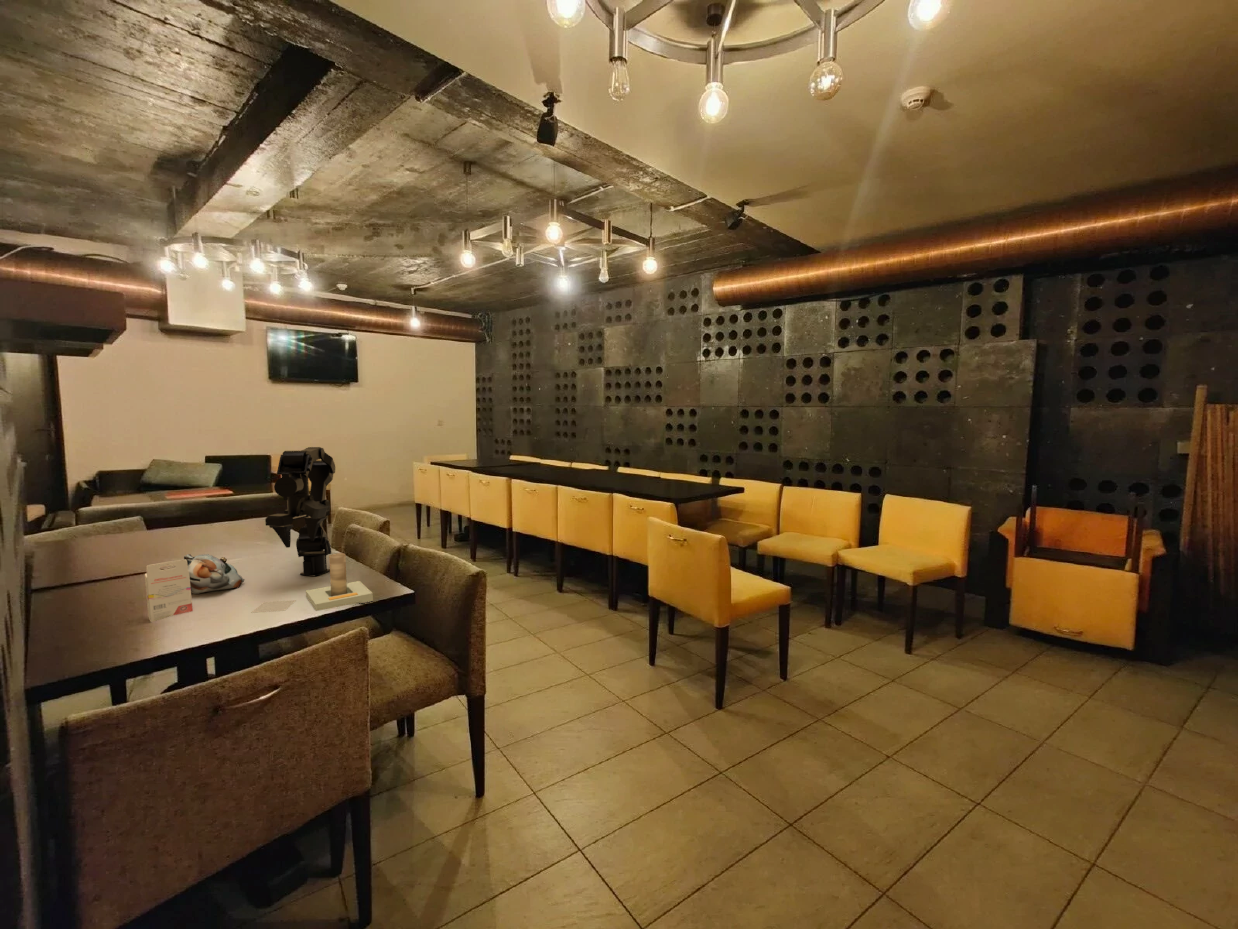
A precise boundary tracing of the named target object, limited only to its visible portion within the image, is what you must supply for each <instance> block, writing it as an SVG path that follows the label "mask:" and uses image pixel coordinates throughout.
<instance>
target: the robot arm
mask: <svg viewBox="0 0 1238 929" xmlns="http://www.w3.org/2000/svg"><path fill="white" fill-rule="evenodd" d="M278 461H279V462H278V466H277V470H276V471H277V472H276V474H277V476H280V475H281V477H280V478H278V479H277V480H276V481H275V482H274V485H273V486H274V487H273V488H274V492H275V493H276V494H277V496H280V497H281V498H283V501H286V502H287V503H286V504H287V505H286V506H287V508H286V509H285V510H284V509H283V510H284V511H283V513H274V514H268V515H267V516H266V517H265V519H264V522H265V526H267V527H268V526H269V528H270V529H271V528H272V529H273V530H274V532H275V533H276V535H278V537H279V539H280V541H281V542H282V544H283V545H284V547H285V548H287V549H289V548H291V542H292V540H291V530H292V529H293V528H294V526H295V525H294V524H293V522H294V521H295V520H300V519H304V522H305V525H304V526H302V527H299V529H298V537H297V539H296V542H295V543H296V544H295V546H296V551H297V557H298V558H301V557H303V558H302V559H303V561H302V572H300V574H299V575H300V576H308V575H318V576H320V575H321V576H322V575H324V574H326V573H328V572H329V573H330V568H327V567H328V565H327V562H328V561H327V556H328V555H332V544H331V543H330V540H329V538H328V535H327V532H326V531H325V529H324V527H323V522H324V520H325V519H327V518H328V517H327V516H330V511H331V502H330V500H328V499H326V493H327V486H329V484H330V483H331V482H332V481H333V479H334V474H336V464H335V460H334V459H333V457H332V456H331V455H330V454H329V453H327V452H326V451H325V449H324V447H320V446H311V447H310V446H309V447H305V448H304V449H302V450H284V451H283V452H282V454H280V457H279V460H278ZM309 481H310V482H309ZM309 484H310V486H309ZM309 487H310V488H309ZM325 572H326V573H325ZM323 573H324V574H323Z"/></svg>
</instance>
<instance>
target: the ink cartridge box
mask: <svg viewBox="0 0 1238 929" xmlns="http://www.w3.org/2000/svg"><path fill="white" fill-rule="evenodd" d="M167 566H169V567H171V568H165V567H167ZM173 566H174V567H173ZM145 568H146V573H144V584H145V596H146V605H147V607H146V608H147V617H148V618H147V619H148V620H149V622H150V623H154V622H157V621H160V620H162V619H165V618H168V617H171V616H177V615H181V614H185V613H189V612H193V611H194V610H193V601H192V600H193V599H192V598H193V597H192V592H191V587H190V576H189V570H188V565H187V560H186V559H184V558H183V559H178V560H171V561H164V562H159V563H158V562H157V563H153V564H148V565H146V566H145ZM161 568H165V569H161Z"/></svg>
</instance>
